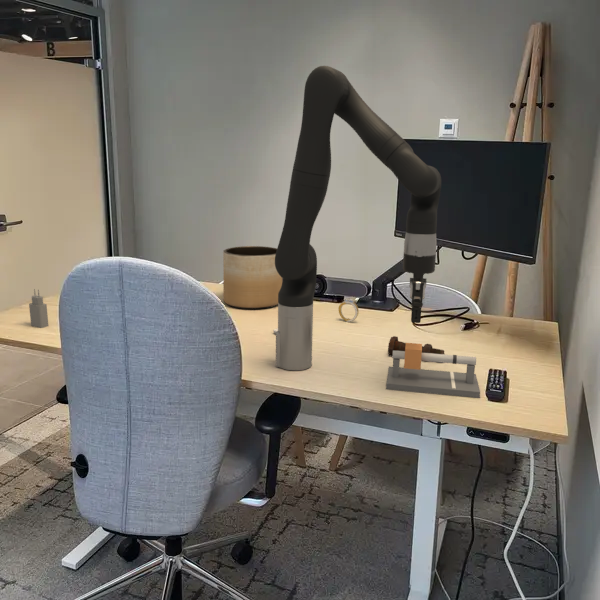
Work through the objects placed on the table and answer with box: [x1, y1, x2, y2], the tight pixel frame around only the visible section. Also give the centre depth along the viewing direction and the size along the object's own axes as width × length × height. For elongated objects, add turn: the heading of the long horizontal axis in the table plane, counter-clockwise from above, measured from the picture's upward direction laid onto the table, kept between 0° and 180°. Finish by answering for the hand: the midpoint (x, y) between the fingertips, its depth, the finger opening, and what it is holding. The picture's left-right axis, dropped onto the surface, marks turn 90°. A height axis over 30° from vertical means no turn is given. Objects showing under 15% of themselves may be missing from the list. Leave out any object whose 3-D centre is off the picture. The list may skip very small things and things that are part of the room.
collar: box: [403, 342, 423, 370], centre depth 145 cm, size 4×5×5 cm
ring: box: [338, 298, 359, 323], centre depth 197 cm, size 7×3×8 cm, turn 53°
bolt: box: [387, 335, 446, 357], centre depth 164 cm, size 6×5×15 cm
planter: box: [222, 245, 283, 310], centre depth 218 cm, size 22×22×20 cm
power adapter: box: [28, 288, 49, 329], centre depth 186 cm, size 3×5×12 cm, turn 61°
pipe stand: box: [385, 350, 481, 399], centre depth 145 cm, size 22×12×8 cm, turn 79°
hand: (415, 317), depth 142 cm, fingers open, 8 cm apart
